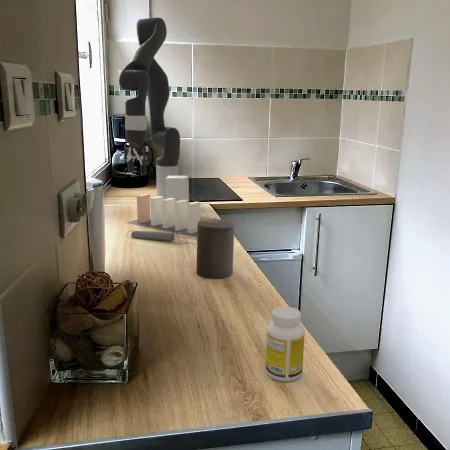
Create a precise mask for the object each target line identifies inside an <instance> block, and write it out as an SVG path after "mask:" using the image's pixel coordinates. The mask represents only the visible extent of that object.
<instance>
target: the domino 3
mask: <svg viewBox="0 0 450 450" xmlns="http://www.w3.org/2000/svg"><path fill="white" fill-rule="evenodd" d="M162 220H163V228H170V227H173V226H175V198H168V199H164V200H162Z"/></svg>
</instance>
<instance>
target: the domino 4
mask: <svg viewBox="0 0 450 450" xmlns="http://www.w3.org/2000/svg"><path fill="white" fill-rule="evenodd" d="M187 204H188V200H180V201H176V202H175V230H177V231H180V230H183V229H186V228H187Z"/></svg>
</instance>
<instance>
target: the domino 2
mask: <svg viewBox="0 0 450 450" xmlns="http://www.w3.org/2000/svg"><path fill="white" fill-rule="evenodd" d="M162 200H163V196H157V195H156V196H154V197H150V219H151V225H152V226H157V225H160V224H163V220H162Z"/></svg>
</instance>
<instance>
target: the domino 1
mask: <svg viewBox="0 0 450 450" xmlns="http://www.w3.org/2000/svg"><path fill="white" fill-rule="evenodd" d="M150 198H151V194H150V193H149V194H148V193H144V194H140V195H136V211H137V212H136V216H137V217H136V220H137V223H144V222H148V221H150V219H151V210H150Z"/></svg>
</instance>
